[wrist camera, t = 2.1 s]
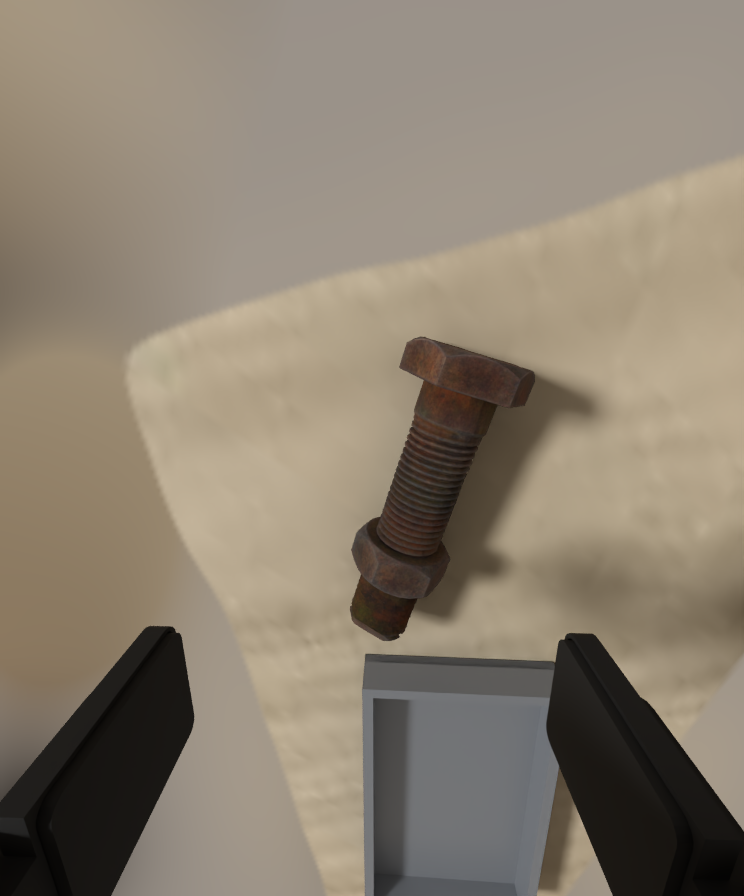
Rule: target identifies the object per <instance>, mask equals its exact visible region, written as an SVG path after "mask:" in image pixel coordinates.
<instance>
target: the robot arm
mask: <svg viewBox="0 0 744 896" xmlns="http://www.w3.org/2000/svg"><path fill="white" fill-rule="evenodd" d="M193 723H194V711H193V705H192V699H191V692H190V687H189V680H188V675H187V668H186V662H185V655H184V649H183V643H182V637H181V635H180V633H176V631H175V629H174V628H173V627H169V626H165V627H164V626H149V627H147V628H145V629H144V630H143V631H142V633H141V634H140V635H139V636H138V637H137V639H136V640H135V641H134V642H133V643H132V645H131V646H130V647H129V648H128V649H127V651H126V652H125V653H124V654H123V655H122V657H121V658H120V659H119V661H118V662H117V663H116V664H115V665H114V666H113V668H112V669H111V670H110V671H109V672H108V674H107V675H106V676H105V677H104V679H103V680H102V681H101V682H100V683H99V685H98V686H97V687H96V688H95V689H94V691H93V692H92V693H91V694H90V695H89V696H88V697H87V698H86V699H85V701H84V702H83V703H82V704H81V705H80V707H79V708H78V709H77V710H76V711H75V713H74V714H73V715H72V716H71V717H70V719H69V720H68V721H67V722H66V723H65V725H64V726H63V727H62V728H61V729H60V731H59V732H58V733H57V734H56V735H55V737H54V738H53V739H52V741H50V743H49V744H48V745H47V746H46V747H45V749H44V750H43V751H42V752H41V754H40V755H39V756H38V757H37V758H36V760H35V761H34V762H33V763H32V764H31V766H30V767H29V768H28V769H27V771H26V772H25V773H24V774H23V775H22V776H21V778H20V779H19V780H18V781H17V782H16V784H15V785H14V786H13V787H12V789H11V790H10V791H9V792H8V793H7V795H6V796H5V797H4V798H3V799H2V800H1V802H0V896H111V895H112V892H113V891H114V889H115V887H116V885H117V882H118V880H119V878H120V876H121V874H122V872H123V870H124V868H125V866H126V864H127V862H128V860H129V858H130V856H131V854H132V852H133V850H134V848H135V846H136V844H137V842H138V840H139V838H140V836H141V834H142V831H143V829H144V827H145V825H146V823H147V821H148V819H149V817H150V815H151V813H152V811H153V809H154V807H155V805H156V803H157V801H158V799H159V797H160V795H161V793H162V791H163V788H164V786H165V785H166V783H167V780H168V778H169V776H170V774H171V772H172V770H173V768H174V766H175V764H176V762H177V760H178V758H179V756H180V754H181V752H182V750H183V748H184V746H185V744H186V742H187V739H188V738H189V735H190V733H191V731H192V728H193ZM546 731H547V736H548V740H549V743H550V745H551V748H552V750H553V752H554V755H555V757H556V760H557V762H558V764H559V767H560V769H561V772H562V774H563V777H564V779H565V781H566V784H567V786H568V789H569V791H570V793H571V796H572V798H573V801H574V803H575V805H576V808H577V810H578V813H579V815H580V817H581V820H582V822H583V825H584V827H585V829H586V832H587V834H588V837H589V839H590V842H591V844H592V846H593V849H594V851H595V854H596V856H597V858H598V861H599V863H600V866H601V868H602V870H603V873H604V875H605V878H606V880H607V882H608V885H609V887H610V890H611V892H612V894H613V896H744V831H743V830H742V828H741V827H740V826H739V824H738V823H737V821H736V820H735V819H734V817H733V816H732V815H731V813H730V812H729V811H728V809H727V808H726V807H725V805H724V804H723V803H722V801H721V800H720V799H719V797H718V796H717V794H716V793H715V792H714V790H713V789H712V788H711V786H710V785H709V783H708V782H707V781H706V779H705V778H704V777H703V775H702V774H701V773H700V771H699V770H698V769H697V767H696V766H695V764H694V763H693V762H692V760H691V759H690V758H689V757H688V755H687V754H686V752H685V751H684V750H683V748H682V747H681V745H680V744H679V743H678V741H677V740H676V739H675V737H674V736H673V735H672V733H671V732H670V731H669V729H668V728H667V726H666V725H665V724H664V722H663V721H662V720H661V718H660V717H659V716H658V714H657V713H656V712H655V710H654V709H653V708H652V707H651V705H650V704H649V703H648V702H647V701H645V700H644V699H642V698H641V697H640V696H639V695H638V693H637V692H636V691H635V689H634V688H633V686H632V685H631V684H630V682H629V681H628V680H627V678H626V677H625V675H624V674H623V673H622V671H621V670H620V668H619V667H618V666H617V664H616V663H615V662H614V660H613V659H612V657H611V656H610V655H609V653H608V652H607V651H606V649H605V648H604V646H603V645H602V644H601V642H600V641H599V639H598V638H597V637H596V636H595V635H593V634H581V633H569V634H567V635H566V636H565V640H560V641H559V643H558V649H557V655H556V662H555V669H554V675H553V682H552V688H551V695H550V701H549V708H548V714H547V721H546Z"/></svg>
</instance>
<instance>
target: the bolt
mask: <svg viewBox="0 0 744 896" xmlns="http://www.w3.org/2000/svg"><path fill="white" fill-rule="evenodd" d="M399 367H400V368H401V369H403V370H405V371H407V372H409V373H411V374H413V375H415V376H417V377H419V378H421V379H423V380H424V382H423V385H422V388H421V391H420V394H419V397H418V400H417V403H416V406H415V409H414V412H415V415H414V421H412V426H413V427H411V428H410V430H409V432H410V433H411V434H409V435H407V439H408V440H407V441H406V442H405V446H406V447H404V448H403V453H402V454H401V456H400V458H401V460H399V462H398V466H397V468H396V472H395V474H394V478H393V481H392V485H391V486H390V491H389V492H388V496H387V499H386V502H385V506H384V509H383V512H382V514H381V517H377V518H374V519H372V520H370V521H369V522H368V523H366V524H365V525H364V526H363V527H362V528H361V529H360V530H359V531H358V532H357V534H356V537H355V540H354V543H353V546H352V549H351V550H352V554H353V557H354V561H355V563H356V565H357V568H358V570H359V571H360V573H361V577H360V579H359V583H358V585H357V589H356V591H355V595H354V597H353V599H352V603H351V604H352V606H350V612H351V617H352V621H353V622H354V623H355V624H356V625H358V626H359V627H361V628H362V629H364V630H366V631H367V632H369V633H371V634H372V635H374V636H376V637H377V638H379V639H381V640H382V641H392V640H395V639H397V638H399V637H400V636H399V634H400V633H401V634H403V632H404V631H405V628H406V626H407V623H408V620H409V618H410V615H411V613H412V610H413V608H414V605H415V603H416V601H417V598H423V597H426V596H427V595H429V594H430V593H431V592H432V591H433V589H434V588H435V587H436V586H437V584H438V583H439V582H440V580H441V579H442V577H443V576H444V573H445V571H446V568H447V566H448V563H449V561H450V557H449V555H448V553H447V551H446V549H445V547H444V545H443V543H442V542H441V541H440V540H441V539H442V536H443V533H444V532H445V528H446V526H447V522H448V521H449V518H450V516H451V513H452V510H453V508H454V505H455V503H456V500H457V498H458V496H459V491H460V489H461V485H462V484H463V482H464V478H465V477H466V475H467V474H466V472H467V471H468V470H469V469H470V468H469V466H470V465H471V464H472V459H473V458H474V456H475V453H474V452H476V451H477V449H478V447H477V445H479V444H480V441H481V439H482V437H483V436H484V435H485V434H486V432H487V429H488V427H489V425H490V422H491V420H492V417H493V415H494V412H495V410H496V407H497V405H500V406H504V407H507V408H511V407H518V406H524V405H525V403H526V401H527V399H528V396H529V394H530V392H531V389H532V387H533V384H534V382H535V375H534V372H533V371H531V370H528V369H525V368H521V367H519V366H516V365H514V364H510V363H507V362H504V361H500V360H497V359H494V358H491V357H487V356H484V355H481V354H477V353H474V352H471V351H467V350H465V349H462V348H459V347H455V346H452V345H449V344H445V343H442V342H438V341H435V340H431V339H428V338H426V337H418V338H415V339H413V340H411V341H409V342H407V344H406V347H405V351H404V354H403V357H402V360H401V363H400V366H399Z"/></svg>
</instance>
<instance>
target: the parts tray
mask: <svg viewBox="0 0 744 896" xmlns="http://www.w3.org/2000/svg"><path fill="white" fill-rule="evenodd" d="M554 669H555V665H554V663H553V662H543V661H518V660H494V659H470V658H446V657H422V656H398V655H374V654H366V655H365V666H364V677H363V688H362V700H363V780H364V860H365V896H537V890H538V885H539V879H540V873H541V867H542V862H543V856H544V850H545V845H546V839H547V833H548V828H549V822H550V816H551V810H552V805H553V799H554V793H555V788H556V782H557V776H558V771H559V764H558V762H557V760H556V757H555V755H554V752H553V750H552V748H551V745H550V743H549V740H548V736H547V731H546V721H547V714H548V708H549V701H550V695H551V688H552V682H553V675H554Z"/></svg>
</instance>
